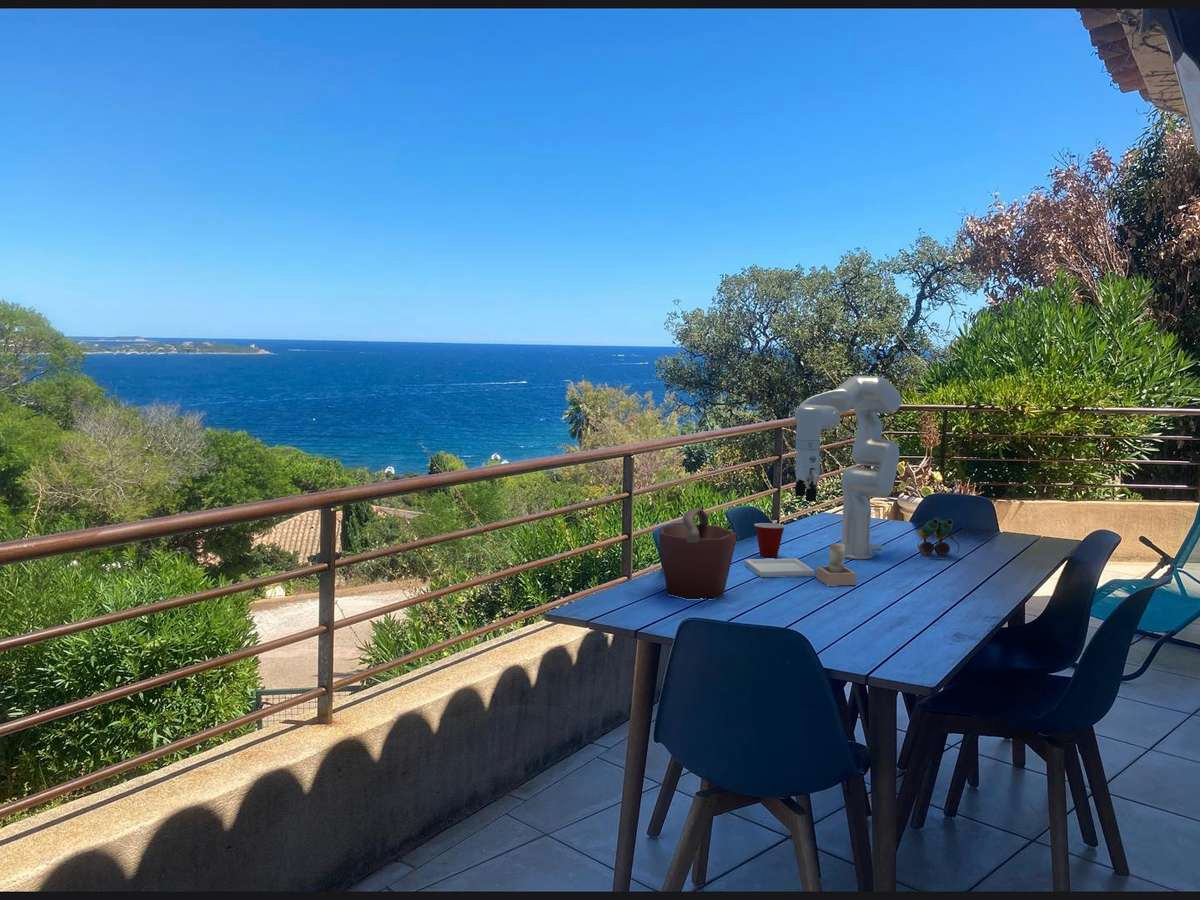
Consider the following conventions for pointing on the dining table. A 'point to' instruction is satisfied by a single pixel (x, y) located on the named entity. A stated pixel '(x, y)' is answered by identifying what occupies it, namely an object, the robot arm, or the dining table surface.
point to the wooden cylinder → (836, 558)
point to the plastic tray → (779, 567)
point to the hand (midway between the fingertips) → (805, 498)
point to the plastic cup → (769, 538)
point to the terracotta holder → (835, 576)
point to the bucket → (696, 557)
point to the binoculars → (940, 532)
